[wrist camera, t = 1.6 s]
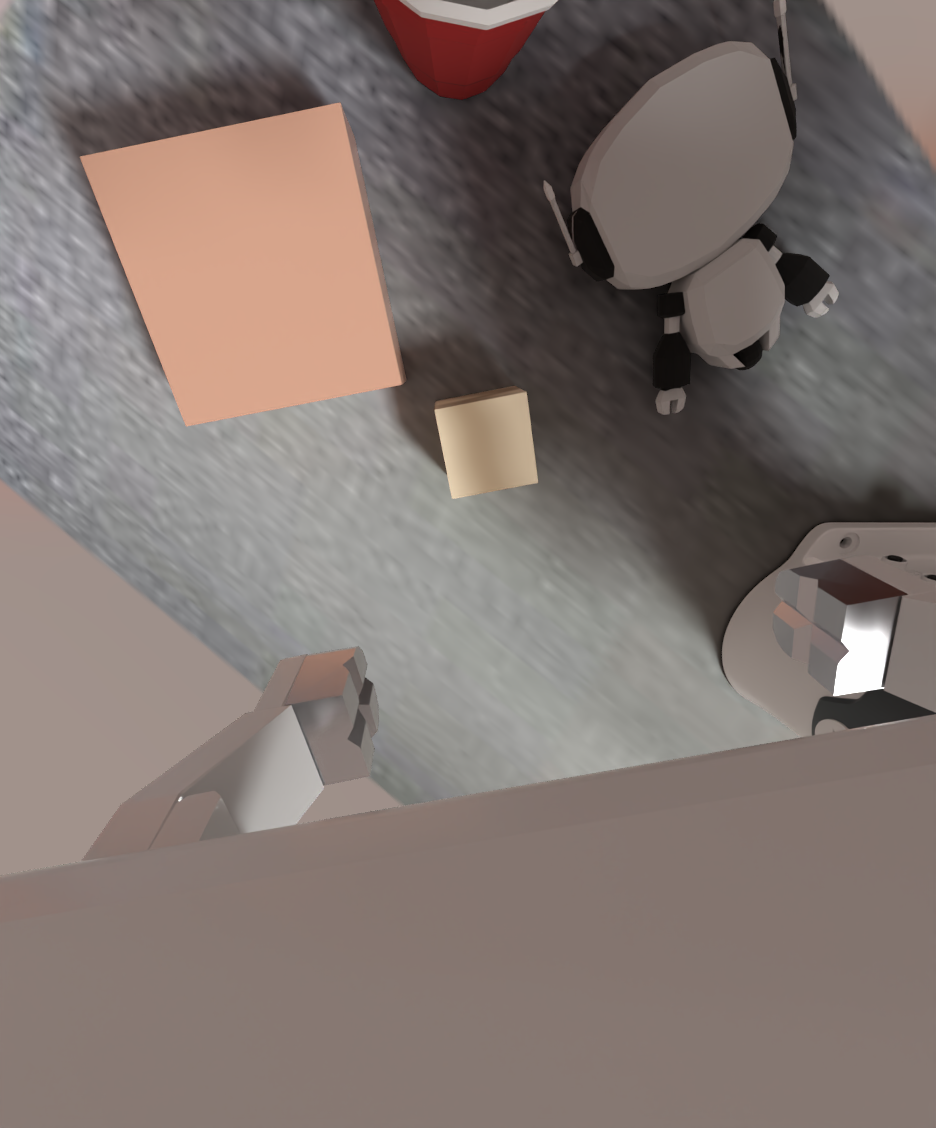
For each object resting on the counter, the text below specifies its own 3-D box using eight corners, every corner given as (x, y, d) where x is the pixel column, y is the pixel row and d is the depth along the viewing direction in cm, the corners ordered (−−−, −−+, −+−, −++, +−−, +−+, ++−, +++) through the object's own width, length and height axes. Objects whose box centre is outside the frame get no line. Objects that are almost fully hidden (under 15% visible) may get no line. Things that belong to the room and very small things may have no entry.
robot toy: (814, 301, 31) (729, 19, 25) (873, 300, 27) (790, -38, 21) (639, 419, 33) (520, 189, 27) (669, 434, 29) (539, 168, 23)
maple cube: (514, 385, 31) (526, 392, 27) (525, 464, 33) (538, 482, 29) (435, 401, 31) (434, 409, 27) (450, 478, 33) (452, 499, 29)
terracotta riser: (354, 137, 26) (340, 102, 22) (406, 380, 31) (402, 384, 27) (130, 183, 26) (79, 156, 22) (216, 417, 31) (185, 426, 27)
